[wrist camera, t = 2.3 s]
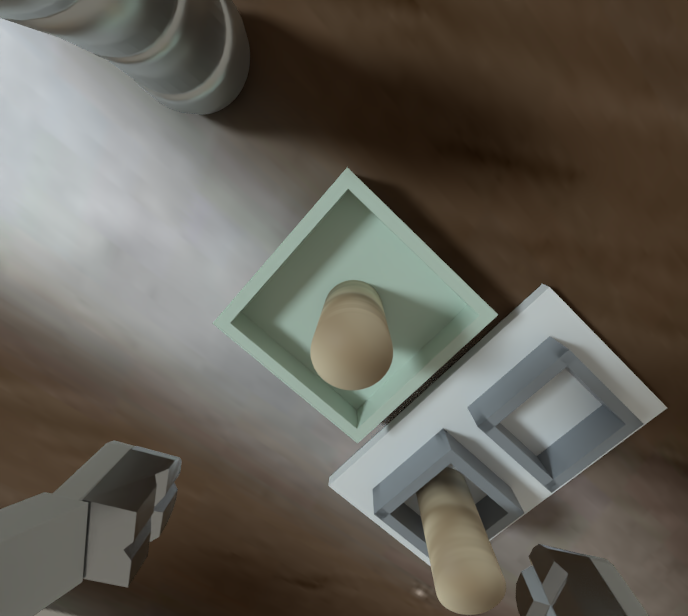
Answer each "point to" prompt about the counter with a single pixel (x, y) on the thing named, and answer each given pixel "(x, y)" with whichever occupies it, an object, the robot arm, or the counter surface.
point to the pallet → (502, 423)
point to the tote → (364, 265)
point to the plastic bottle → (154, 43)
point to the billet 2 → (459, 546)
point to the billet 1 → (352, 337)
